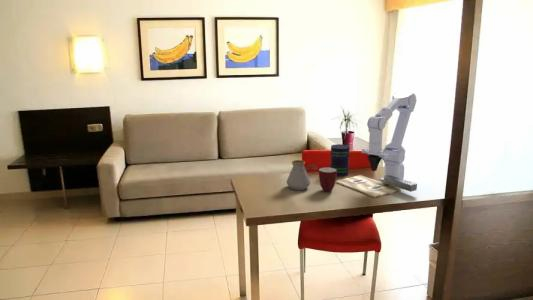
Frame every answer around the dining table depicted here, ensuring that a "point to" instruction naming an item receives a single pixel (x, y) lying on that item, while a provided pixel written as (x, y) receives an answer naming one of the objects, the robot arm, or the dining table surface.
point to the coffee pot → (299, 176)
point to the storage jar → (340, 159)
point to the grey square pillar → (399, 183)
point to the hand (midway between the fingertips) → (374, 170)
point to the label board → (368, 186)
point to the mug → (327, 178)
